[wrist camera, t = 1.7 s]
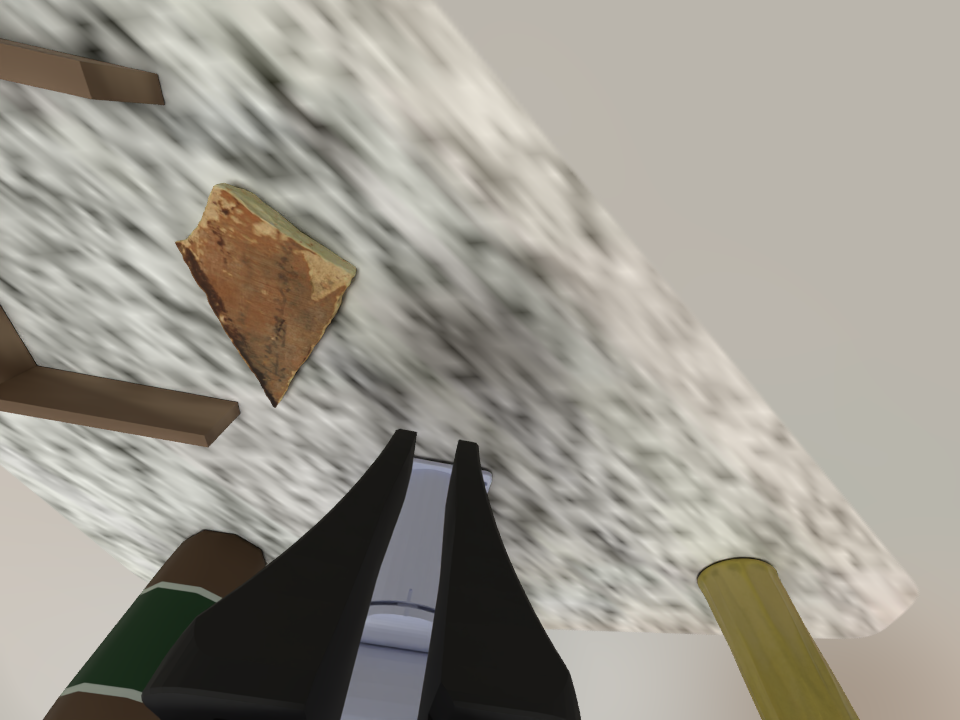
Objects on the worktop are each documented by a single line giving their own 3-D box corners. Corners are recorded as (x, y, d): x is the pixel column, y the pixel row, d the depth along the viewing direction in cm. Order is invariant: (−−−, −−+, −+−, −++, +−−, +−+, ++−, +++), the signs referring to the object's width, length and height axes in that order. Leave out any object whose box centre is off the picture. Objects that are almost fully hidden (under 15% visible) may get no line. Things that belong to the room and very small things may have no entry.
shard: (287, 393, 23) (272, 412, 22) (164, 325, 21) (138, 340, 19) (368, 269, 18) (356, 281, 17) (219, 161, 16) (189, 164, 14)
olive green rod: (751, 596, 32) (897, 870, 20) (684, 589, 32) (790, 859, 20) (789, 561, 29) (990, 865, 17) (714, 553, 29) (862, 851, 17)
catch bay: (240, 413, 24) (208, 447, 21) (28, 375, 23) (-31, 405, 20) (156, 74, 14) (78, 60, 11) (-218, -12, 13) (-390, -45, 11)
